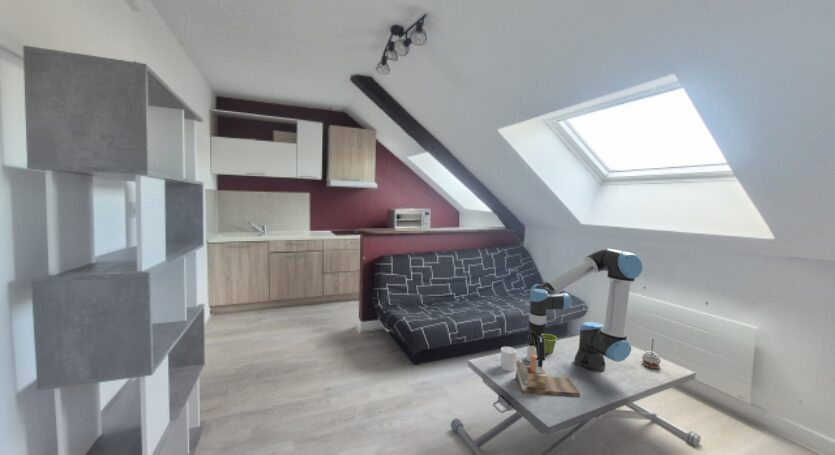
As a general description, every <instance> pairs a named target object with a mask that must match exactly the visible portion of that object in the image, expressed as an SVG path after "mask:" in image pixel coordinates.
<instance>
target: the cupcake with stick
mask: <svg viewBox="0 0 835 455" xmlns="http://www.w3.org/2000/svg"><path fill="white" fill-rule="evenodd" d="M654 343H655V339H654V338H651V348H650V350H647V351H645V352H643V353H642V360H641V363H642V364H643V366H646V367H648V368H652V369H659V368H660V367H661V366H660V363H661V361H662V360H661V358H660V355H659V354H658V353H657V352H655V351H654Z"/></svg>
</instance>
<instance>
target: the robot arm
mask: <svg viewBox="0 0 835 455" xmlns="http://www.w3.org/2000/svg"><path fill="white" fill-rule="evenodd" d="M602 271H603V272H604V271H605V272H607V275H606V276H607V278H608V279H609V288H608V295H607V303H606V310H605V320H604V324H603V323H601V322H595V321H586V322H581V324H580V326H579V338H578V342H579V343H578V349H577V351H576V354H575V355H574V359H573V360H574V361H573V362H574V364H575V365H576V366H578V367H579V368H581V369H584V370H585V371H586V370H587V371H591V372H602V371H604V370H606V361H605V357H606V358H607V359H608V360H611V361H612V362H615V363H620V362H623V361H625V360H626V359H627V358H629V356H630V354H631V351H632V345H631V344H630V342H629V341H627V339H628V337H627V336H628V334H627V333H626V331H625V328H626V327H625V325H626V319H627V312H628V311H627V310H628V303H629V295H630V290H631V284H632V283H634V282H635V280H636V278H638V277H640V275H641V274H642V271H643V262H642V260H641V259H640V257H639V256H638V255H636V254H634V253H632V252H629V251H622V250H618V249H614V248H613V249H612V248H605V249H601V250H597V251H595V252H592V253H591V254H589V255H587V256H585V257H584V258H583V260H582V261H580V262H579V263H577V264H576V265H574V266H572V267H570V268H569V269H567V270H565V271H563V272H562V273H559V274H558V275H557V276H555V277H553V278H551V279H549V280H548V281H546V282H545V283H543V284H540V283H536V284H533V285H532V286H531V287H530V297H529V300H530V302H529V314H528V316H527V317H528V318H529V319H528V330H529V333H528V338H527V344H528V347H529V348H528V347H527V348H528V359H530V358H531V355H534V348H535V346H533V345H536V352H537V358H536V373H542V369H543V368H544V366H543V364H544V362H545V361H546V357H545V356H546V355H545V354H546V353H545V352H544V338H542V335H541V334H544V333H545V332H546V329H547V328H546V327H547V325H546V324H547V313H548V311H550V310H551V311H552V310H565V309H569V308H571V307H572V306H571V305H572V297H571V296H570V294H568V293H566V292H563V291H565V290H566V289H567V288H570V287H571V286H573V285H574V284H576V283H578V282H579V281H581V280H583V279H585V278H586V277H588V276H590V275H591V274H598V273H599V272H602Z"/></svg>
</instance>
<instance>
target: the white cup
mask: <svg viewBox="0 0 835 455" xmlns="http://www.w3.org/2000/svg"><path fill="white" fill-rule="evenodd" d="M516 358H517V350H516V349H515V348H514V347H512V346H511V347H510V346H502V347H501V348H500V368H501V369H502V370H503V371H506V372H513V371H514V370H515V367H516V366H515V364H516V361H517V359H516Z"/></svg>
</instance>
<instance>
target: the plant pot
mask: <svg viewBox="0 0 835 455" xmlns="http://www.w3.org/2000/svg"><path fill="white" fill-rule="evenodd" d="M541 335H542V338H544V353H545V354H550V353H551V354H553V353H554V351H555V345H556V342H557V340H558V338H557V336H556V335H553V334H549V333H541Z"/></svg>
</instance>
